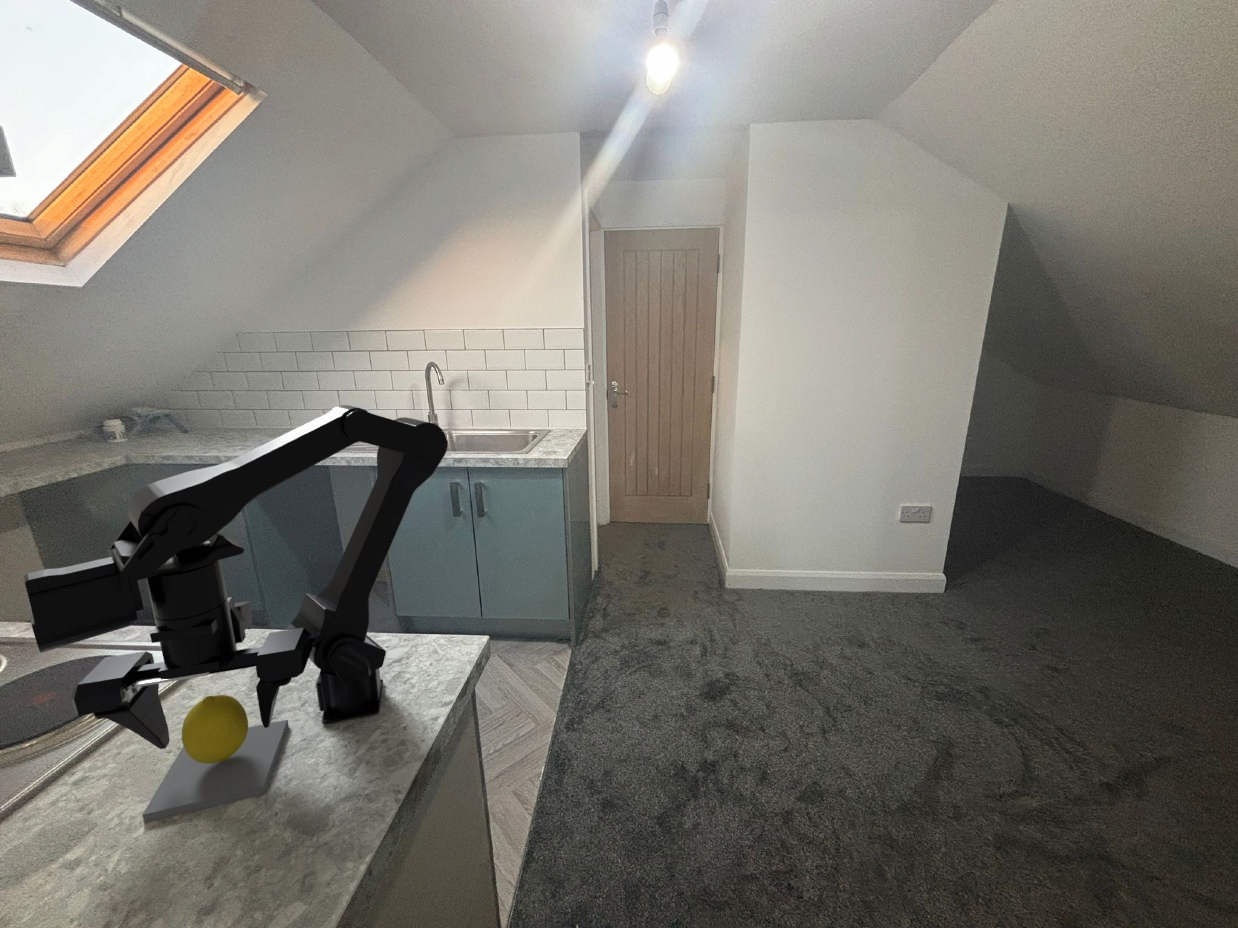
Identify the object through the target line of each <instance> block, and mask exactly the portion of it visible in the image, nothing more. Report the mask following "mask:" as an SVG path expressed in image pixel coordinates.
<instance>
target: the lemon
mask: <svg viewBox="0 0 1238 928" xmlns="http://www.w3.org/2000/svg"><path fill="white" fill-rule="evenodd" d="M248 727H249V719H248V715H247V712H246V710H245V708H244V706H243V704H242V703H241V702H240V701H238V699H236V698H235V697H233V696H230V695H225V694H224V695H223V694H218V695H217V694H216V695H207V696H205V697H204V698H203V699H202V700H200V701H199V702H198V703H196V704H195V705H194V706H193V707H192V708H191V709H190V710H189V711H188V713H187V714H186V716H185V718H184V719H183V723H182V729H181V741H182V744H183V745H182V747H183V746H184V748H185V750H186V752H187V754H188V755H189V756H190V757H191V758H192V759H193V760H195V761H197V762H199V763H205V764H211V763H216V762H224V761H226V760H227V759H228V758H229V757H230V756H231V755H233V754H234V753H235V752H236V751H237V750H238V749H239V748H240V747H241V745H242V744H243V742H244V740H245V738H246V735H247V732H248Z"/></svg>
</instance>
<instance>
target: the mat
mask: <svg viewBox="0 0 1238 928" xmlns="http://www.w3.org/2000/svg"><path fill="white" fill-rule="evenodd" d="M288 729H289V720H288V719H284V720H280V721H279V720H278V721H274V722H271V723H270V725H269V727H267V728H264V726H263V724H260V725H255V726H248V732H247V735H246V738H245V740H244V742H243V744H242V745H241V747H240V748H239V749H238V750H237V751H236V752H235V753H234V754H233V755H231V756H230V757H229V758H228V759H227V760H226V761H224V762H216V763H211V764H205V763H199V762H197V761H195V760H193V759H192V758H191V757H190V756H189V755H188V754H187V752H186V750H185V748H184V746H183V745H182V747H181V749H180V750H179V753H178V755H177V757H175V760H174V761H173V763H172V765H171V766H170V767H169V769H168V772H166V775H165V776H164V778H163V779H162V781H161V783H160V785H159V786H158V788H157V790H156V791H155V793H154V795H153V796H152V798H151V799H150V802H149V803H148V804H147V806H146V808H145V809H144V811H143V813H142V819H143V823H144V824H145V823H150V822H154V821H158V820H163V819H167V818H171V817H176V816H180V815H184V814H188V813H192V812H196V811H201V810H203V809H208V808H212V807H217V806H221V805H224V804H229V803H233V802H236V801H242V800H246V799H251V798H255V797H258V796H262V795H265V793H266V790H267V788H268V786H269V782H270V780H271V778H272V774H273V771H274V768H275V765H276V763H277V760H278V757H279V754H280V752H281V750H282V749H281V748H282V746H283V744H284V741H285V737H286V736H287V734H288V733H287V732H288Z"/></svg>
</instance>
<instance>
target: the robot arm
mask: <svg viewBox="0 0 1238 928" xmlns="http://www.w3.org/2000/svg"><path fill="white" fill-rule="evenodd" d="M356 443H364V444H365V443H366V444H367V445H368V444H369V445H371V446H375V447H378V449H377V452H376V471H377V472H376V474H377V475H376V479H375V482H374V485H373V487H372V489H371V491H370V493H369V495H368V498H367V499H366V502H365V505H364V507H363V509H362V512H361V514H360V516H359V519H358V521H357V523H356V525H355V528H354V530H353V532H352V534H351V537H350V539H349V541H348V543H347V545H346V547H345V549H344V552H343V554H342V557H341V559H340V561H339V563H338V566H337V567H336V570H335V572H334V574H333V577H332V579H331V581H330V582H329V584H328V585H327V586H326V587H325V588H324V589H323V590H322V591H321V592H320V593H318V594H317V595H313V594H311V593H305V595H304V596H303V598H302V602H301V606H300V609H299V612H298V613H297V615H296V616H295V617H294V619H293V620H292V621H291V623H290V625H291V626H292V627H293V629H292V628H291V629H284V630H280V631H279V630H278V631H273V632H272V631H271V632H269V633H268V635H267V637H266V639H265V640H264V642H263V644H262V646H256V647H249V648H244V649H238V648H237V644H240V643H243V642H244V640H245V638H246V630H251V629H252V628H253V621H252V620H253V619H252V618H253V617H252V601H251V600H249V601H240V602H235V601H234V600H233V597H232V596H231V597H228V594H227V589H226V588H227V587H226V583H225V577H224V573H223V567H222V561H221V560H224V559H227V558H232V557H235V556H240V555H242V554H243V553H244V552H245V549H244V547H243V546H241V545H240V543H238V542H237V541H236V540H235V539H233V538H229V537H227V536H225V535H224V534H222V533H221V532H220V531H221V530H222V529H224V528H225V527H226V526H228V525H230V523H232V522H233V521H234V520H235V519H236V518H237V517H238V516H239V515H240V514H241V512H243V510H244V509H245V508H246V507H247V506H248V505H249V504H250V503H251V502H252V501H253V500H255V499H256V498H258V497H259V496H261V495H262V494H264V493H266V492H268V491H270V490H271V489H274V488H276V487H277V486H278V485H281V484H282V483H284V482H287V481H288V480H290V479H292V478H294V477H296V476H297V475H299V474H300V473H303V472H305V471H306V470H309V469H311V468H312V467H314V466H316V465H318V464H319V463H321V462H323V461H325V460H327V459H328V458H330V457H333V456H335V455H336V454H337V453H339V452H341V451H343V450H345V449H346V448H348V447H351V446H352V445H354V444H356ZM448 445H449V441H448V440H447V437H446V433H445V431H444V430H443V429H442V427H440V426H439V425H437V424H436V423H432V422H429V421H424V420H420V419H415V418H410V417H407V416H406V417H405V416H404V417H398V418H394V419H392V418H387V417H385V416H381V415H378V414H376V413H375V414H374V413H371V412H369V411H368V410H366V409H363V408H361V407H358V406H353V405H348V404H347V405H346V404H341V405H340V404H339V405H337V406H335V407H333V408H332V409H330V410H329V411H328V412H327V413H325V414H322V415H321V416H319V417H317V418H315V419H312V420H311V421H308V422H306V423H305V424H302V425H301V426H298V427H296V428H294V429H292V430H290V431H288V432H286V433H284V434H282V435H281V436H278V437H276V438H273V439H271V440H270V441H268V442H266V443H263V444H262V445H259V446H258V447H255V448H254V449H252V450H250V451H247V452H245V453H244V454H241V455H239V456H237V457H235V458H232V459H231V460H229V461H225V462H223V463H220V464H217V465H213V466H207V467H203V468H197V469H193V470H189V471H185V472H182V473H179V474H176V475H172V476H170V477H169V476H168V477H166V478H163V479H160V480H157V481H154V482H150V483H148V484H146V485H144V486H143V487H142V488H140V489H138V490H137V491H136V492H135V493H134V494H133V495H132V496H131V500H130V502H129V505H128V507H127V512H128V519H129V520H128V521H127V523H126V524H125V525H124V527H123V528H122V529H121V531H120V533H119V534H118V535H117V536H116V538H115V539H114V541H112V543H111V544H110V546H109V547H108V549H107V551H108V554H109V556H110V557H105V558H99V559H96V560H92V561H91V560H90V561H87V562H81V563H78V564H73V565H69V566H65V567H58V568H57V567H55V568H45V569H40V570H36V571H32V572H31V571H30V572H26V574H25V575H23V580H24V586H25V590H26V593H27V597H28V601H29V602H28V608H29V615H30V624H31V628H32V631H33V635H34V638H35V641H36V644H37V647H38V651H39V653H40V654H42V653H45V652H48V651H51V650H55V649H59V648H62V647H65V646H69V645H72V644H74V643H78V642H82V641H85V640H89V639H92V638H95V637H97V636H101V635H106V634H108V633H111V632H114V631H118V630H121V629H126V628H129V627H130V626H131V623H133V622H136V621H138V613H141V612H144V602H143V598H142V594H141V590H140V587H139V581H140V580H144V579H145V580H146V581H145V582H146V586H147V587H146V588H147V590H148V594H149V600H150V603H151V604H150V605H151V608H152V613H153V617H154V623H155V627H154V629H152V631H151V632H149V636H150V640H151V643H152V644H153V643H159V645H160V649H161V654H162V657H163V661H160V662H157V663H155V658H154V655H153V653H151V652H149V651H146V650H145V651H139V652H132V653H126V654H120V655H113V656H106V657H104V658H103V659H102V660H101V661H100V662H99V663H98V664H97V665H96V666H95V667H94V668H93V669H92V670H91V671H90V672H89V673H88V674H87V675H86V676H84V677H83V679H82V680H80V682H78V684H77V685H76V686H75V687H74V688H73V689H72V692H71V695H70V701H71V705H72V708H73V712H74V714H75V715H77V716H78V717H81V716H87V715H91V714H93V716H94V719H96V720H103V719H105V720H109V721H111V722H113V723H115V724H118V725H119V726H121V727H123V728H125V729H128V730H130V731H131V732H133V733H134V734H135V735H138V736H140V738H142V739H144V740H146V742H149V744H152V745H153V746H155V747H156V748H158V749H159V750H164V749H166V748H167V747H168V745H169V744H170V741H171V740H170V732H169V726H168V723H167V719H166V715H165V712H164V710H163V705H162V703H161V699H160V695H159V690H160V689H159V688H160V687H159V686H160V685H159V684H164V683H170V682H176V681H182V680H186V679H187V680H188V679H193V678H200V677H207V676H209V675H213V674H219V673H224V672H231V671H237V670H243V669H249V668H254V667H255V672H256V677H257V679H259V681H258V683H257V684H256V687H255V689H256V691H255V692H256V696H257V702H258V707H259V708H258V709H259V714H260V720H261V723H262V725H263V726H264V728H267V727H269V725H270V723H272V720H273V719H272V718H273V716H274V711H275V706H276V703H277V699H278V694H279V690H280V687H283V686H287V685H288V684H290V683H291V681H292V679H294V678H297V677H298V676H300V675H302V674H303V673H305V670H306V667H307V663H308V662H309V660H310V661H311V663H313V665H314V666H315V667H317V668H318V669H319V670H320V671H319V674H318V677H317V680H316V683H315V687H316V693H317V701H318V702H317V703H318V708H319V710H318V711H320V712H323V714H322V717H321V724H322V725H327V724H333V723H337V722H342V721H343V722H344V721H347V720H353V719H358V718H362V717H367V716H372V715H376V714H379V712H380V709H381V703H382V695H383V688H384V680H383V679H381V673H380V668H382V667H383V665H384V661H385V658H386V654H387V651H386V650H385V649H384V648H383V647H382V646H381V645H380V644H378V643H377V642H376V641H375V640H373V638H371V637H370V636H369V635H368V631H369V627H370V597H371V594H372V591H373V589H374V587H375V584H376V582H377V579H378V577H379V574H380V572H381V570H382V568H383V565H384V563H385V561H386V558H387V556H388V554H389V552H390V549H391V547H392V545H393V542H394V540H395V537H396V535H397V532H398V530H399V529H400V527H401V523H402V521H403V518H404V516H405V514H406V511H407V509H408V507H409V504H410V502H411V501H412V498H413V496H414V493H415V492H416V490H418V488H419V487H421V486H422V485H423V484H424V483H425V482H426V481H428V479H430V478H431V477H432V476H433V475H434V473H435V472H436V470H438V469H437V468H438V467H439V465H440V464H441V462H442V461H443V459H444V457H445V455H446V454H447V450H448Z"/></svg>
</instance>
